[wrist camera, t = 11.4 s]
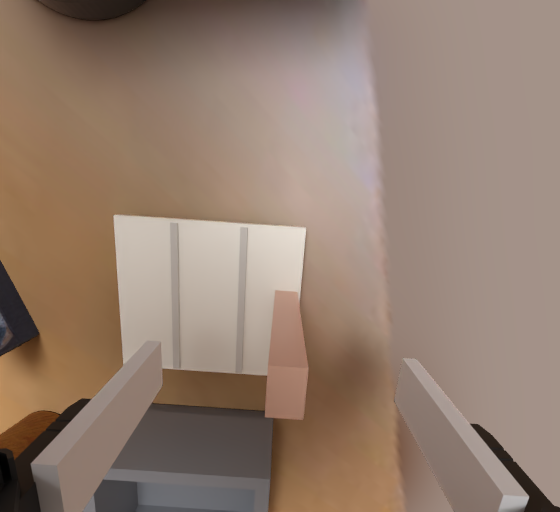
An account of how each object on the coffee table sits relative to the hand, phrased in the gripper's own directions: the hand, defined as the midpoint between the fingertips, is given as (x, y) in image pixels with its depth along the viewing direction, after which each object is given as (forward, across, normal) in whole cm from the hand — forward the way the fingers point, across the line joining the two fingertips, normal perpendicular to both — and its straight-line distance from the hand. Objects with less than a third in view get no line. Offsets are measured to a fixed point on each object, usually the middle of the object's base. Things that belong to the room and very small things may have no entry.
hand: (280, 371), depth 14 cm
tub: (+11, -8, -21) cm, 25 cm away
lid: (+11, -7, -1) cm, 13 cm away
